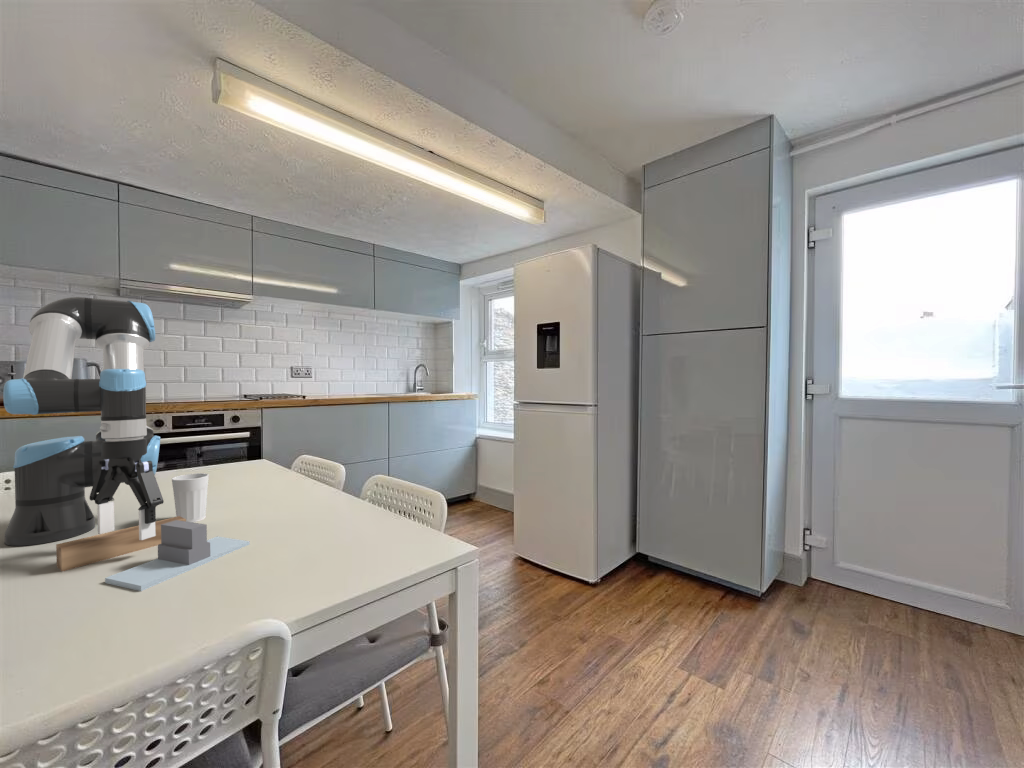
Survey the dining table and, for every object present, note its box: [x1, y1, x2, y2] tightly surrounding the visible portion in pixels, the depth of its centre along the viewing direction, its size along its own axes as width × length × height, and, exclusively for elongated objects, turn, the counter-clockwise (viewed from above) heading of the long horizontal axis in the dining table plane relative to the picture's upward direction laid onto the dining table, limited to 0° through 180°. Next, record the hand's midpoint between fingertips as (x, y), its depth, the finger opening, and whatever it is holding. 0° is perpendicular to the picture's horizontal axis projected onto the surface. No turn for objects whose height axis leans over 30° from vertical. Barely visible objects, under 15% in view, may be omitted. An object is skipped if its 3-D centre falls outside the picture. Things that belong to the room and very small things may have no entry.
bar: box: [55, 516, 186, 573], centre depth 96 cm, size 4×21×5 cm, turn 147°
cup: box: [171, 472, 210, 523], centre depth 116 cm, size 8×8×12 cm
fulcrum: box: [104, 520, 251, 592], centre depth 90 cm, size 10×22×8 cm, turn 162°
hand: (126, 535), depth 95 cm, fingers open, 13 cm apart
